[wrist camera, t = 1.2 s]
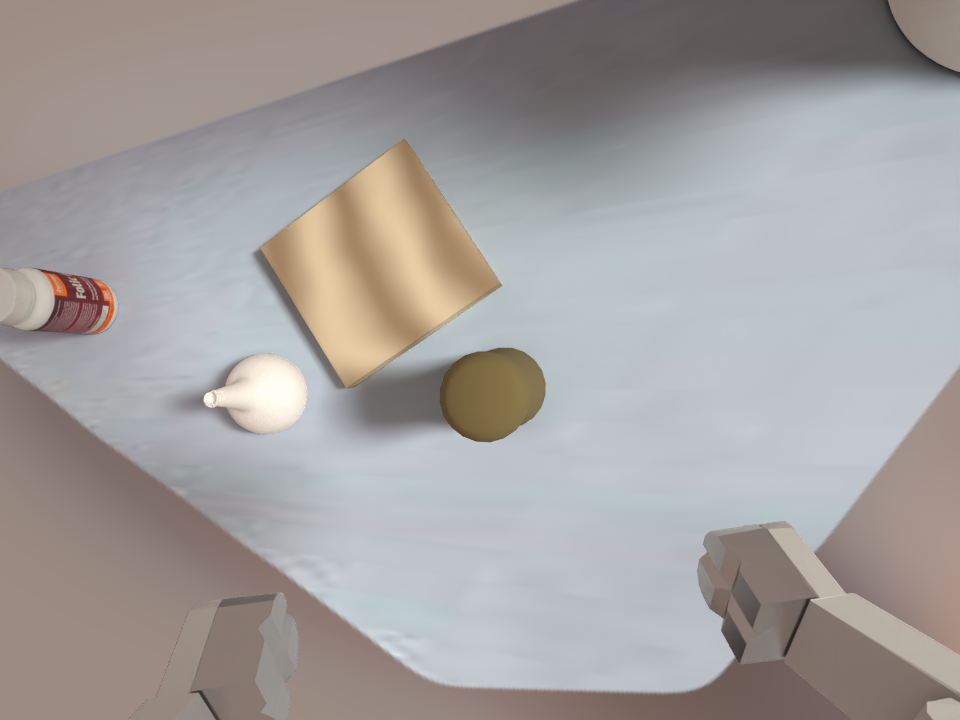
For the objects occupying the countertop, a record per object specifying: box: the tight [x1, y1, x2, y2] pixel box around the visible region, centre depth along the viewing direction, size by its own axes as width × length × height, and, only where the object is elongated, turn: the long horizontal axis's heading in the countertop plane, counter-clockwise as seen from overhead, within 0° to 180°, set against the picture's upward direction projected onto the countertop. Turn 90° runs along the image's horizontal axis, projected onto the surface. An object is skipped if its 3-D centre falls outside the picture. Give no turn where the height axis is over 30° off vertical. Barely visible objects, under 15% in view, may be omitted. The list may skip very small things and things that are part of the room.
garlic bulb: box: [203, 354, 307, 434], centre depth 40 cm, size 6×6×8 cm
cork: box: [440, 348, 545, 442], centre depth 34 cm, size 6×6×11 cm
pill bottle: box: [0, 268, 118, 334], centre depth 42 cm, size 5×5×8 cm
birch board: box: [260, 139, 502, 388], centre depth 41 cm, size 14×13×2 cm
